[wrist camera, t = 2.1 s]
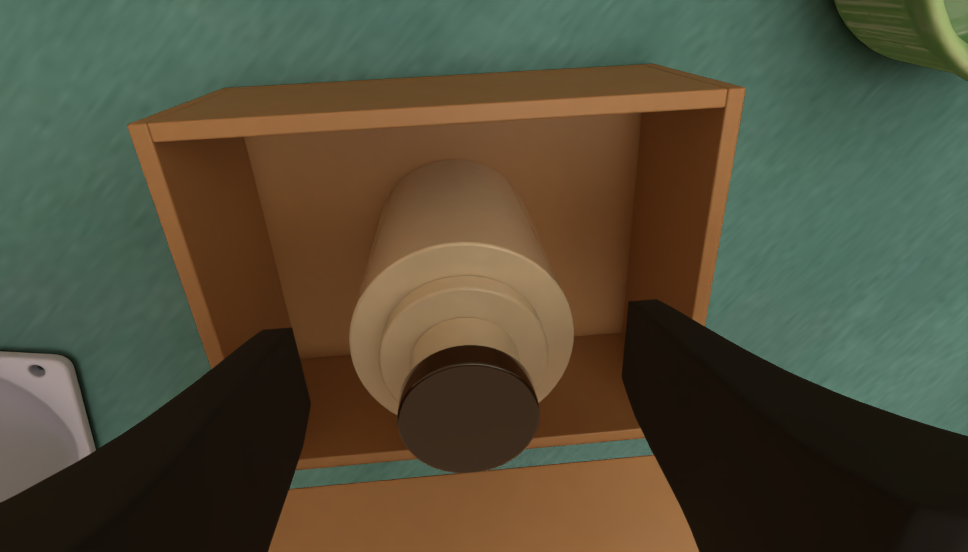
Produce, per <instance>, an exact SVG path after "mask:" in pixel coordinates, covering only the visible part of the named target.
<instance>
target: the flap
mask: <svg viewBox="0 0 968 552" xmlns="http://www.w3.org/2000/svg"><path fill="white" fill-rule="evenodd" d="M268 552H699V550H698V547H697V545H696V542H695V539H694V537H693V534H692V532H691V529H690V527H689V524H688V522H687V520H686V518H685V516H684V514H683V511H682V509H681V507H680V505H679V503H678V501H677V499H676V497H675V495H674V493H673V491H672V489H671V487H670V485H669V483H668V481H667V479H666V477H665V475H664V474H663V472H662V470H661V468H660V466H659V464H658V462H657V460H656V458H655V456H654V455H648V456H637V457H626V458H616V459H605V460H594V461H584V462H573V463H562V464H552V465H541V466H530V467H520V468H509V469H499V470H488V471H481V472H474V473H456V474H445V475H435V476H424V477H413V478H403V479H392V480H381V481H371V482H360V483H349V484H339V485H328V486H317V487H307V488H296V489H289V491H288V494H287V497H286V500H285V503H284V506H283V508H282V511H281V514H280V517H279V520H278V523H277V526H276V529H275V532H274V535H273V538H272V541H271V544H270V547H269V551H268Z"/></svg>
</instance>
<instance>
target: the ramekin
mask: <svg viewBox="0 0 968 552" xmlns="http://www.w3.org/2000/svg"><path fill="white" fill-rule="evenodd" d="M834 3H835V5H836V7H837V10H838V13H839V14H840V16H841V17H842V19H843V21H844V23H845V25H846V26H847V27H848V28H849V29H850V30H851V32H852V33H853V34H854V35H855V36H856V37H857V38H858V39H859V40H860V41H861V42H863V43H864V44H865V45H866V46H868V47H869V48H870V49H871V50H873V51H875V52H877V53H879V54H881V55H883V56H886V57H888V58H891V59H895V60H899V61H903V62H907V63H911V64H915V65H919V66H924V67H928V68H932V69H937V70H941V71H946V72H950V73H955V74H956V75H958V76H959V77H961V78H963V79H965V80H967V81H968V0H834Z"/></svg>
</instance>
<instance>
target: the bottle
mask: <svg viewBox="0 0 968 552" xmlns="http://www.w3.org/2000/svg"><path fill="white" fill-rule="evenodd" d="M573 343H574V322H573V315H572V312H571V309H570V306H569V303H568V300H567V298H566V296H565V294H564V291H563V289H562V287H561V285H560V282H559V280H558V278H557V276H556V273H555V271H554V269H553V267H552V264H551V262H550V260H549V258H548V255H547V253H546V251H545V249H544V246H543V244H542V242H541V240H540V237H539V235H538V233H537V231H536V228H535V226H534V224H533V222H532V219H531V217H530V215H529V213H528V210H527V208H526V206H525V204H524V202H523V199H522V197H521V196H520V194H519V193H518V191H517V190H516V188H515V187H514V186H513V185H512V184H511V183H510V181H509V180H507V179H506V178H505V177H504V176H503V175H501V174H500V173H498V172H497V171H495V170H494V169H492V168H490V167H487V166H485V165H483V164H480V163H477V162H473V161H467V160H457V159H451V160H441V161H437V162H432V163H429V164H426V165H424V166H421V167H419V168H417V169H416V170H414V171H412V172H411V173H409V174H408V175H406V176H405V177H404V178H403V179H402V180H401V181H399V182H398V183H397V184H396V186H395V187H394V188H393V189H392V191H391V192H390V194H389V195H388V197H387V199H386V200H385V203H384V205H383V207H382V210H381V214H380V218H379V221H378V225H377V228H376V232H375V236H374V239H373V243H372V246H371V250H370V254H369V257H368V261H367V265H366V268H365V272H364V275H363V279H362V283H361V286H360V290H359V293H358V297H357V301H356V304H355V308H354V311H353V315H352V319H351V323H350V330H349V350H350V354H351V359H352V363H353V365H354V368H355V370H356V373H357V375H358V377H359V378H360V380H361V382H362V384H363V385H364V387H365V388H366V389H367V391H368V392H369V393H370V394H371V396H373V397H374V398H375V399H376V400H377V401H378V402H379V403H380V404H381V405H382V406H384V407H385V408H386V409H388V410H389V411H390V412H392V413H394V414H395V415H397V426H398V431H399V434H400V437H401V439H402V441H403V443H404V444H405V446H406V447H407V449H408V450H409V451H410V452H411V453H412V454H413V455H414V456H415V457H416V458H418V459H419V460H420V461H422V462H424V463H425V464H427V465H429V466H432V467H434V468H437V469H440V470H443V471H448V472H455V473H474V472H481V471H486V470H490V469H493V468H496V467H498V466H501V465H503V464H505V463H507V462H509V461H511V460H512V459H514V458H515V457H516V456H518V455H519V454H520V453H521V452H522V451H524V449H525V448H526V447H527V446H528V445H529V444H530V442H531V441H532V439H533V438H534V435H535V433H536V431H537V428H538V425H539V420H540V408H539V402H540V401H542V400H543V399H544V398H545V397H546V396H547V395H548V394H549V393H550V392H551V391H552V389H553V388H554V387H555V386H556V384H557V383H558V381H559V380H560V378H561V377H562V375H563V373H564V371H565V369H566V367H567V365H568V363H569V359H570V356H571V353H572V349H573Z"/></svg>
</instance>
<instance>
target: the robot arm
mask: <svg viewBox="0 0 968 552" xmlns="http://www.w3.org/2000/svg"><path fill="white" fill-rule="evenodd" d="M37 365H38V366H41V367H42V368H43V369H44V370H43V369H41V368H39V367H38V366H37ZM622 380H623V383H624V387H625V390H626V393H627V396H628V399H629V402H630V404H631V407H632V410H633V413H634V415H635V418H636V420H637V422H638V424H639V426H640V428H641V430H642V432H643V434H644V436H645V438H646V440H647V442H648V444H649V446H650V448H651V450H652V452H653V454H654V456H655V458H656V460H657V462H658V464H659V466H660V468H661V470H662V472H663V474H664V475H665V477H666V479H667V481H668V483H669V485H670V487H671V489H672V491H673V493H674V495H675V497H676V499H677V501H678V503H679V505H680V507H681V509H682V511H683V514H684V516H685V518H686V520H687V522H688V524H689V527H690V529H691V532H692V534H693V537H694V539H695V542H696V545H697V547H698V550H699V552H968V436H965V435H961V434H958V433H954V432H951V431H947V430H944V429H940V428H937V427H933V426H930V425H927V424H924V423H921V422H917V421H914V420H911V419H908V418H905V417H902V416H899V415H896V414H893V413H890V412H887V411H885V410H882V409H879V408H876V407H873V406H870V405H868V404H865V403H862V402H859V401H857V400H854V399H851V398H849V397H846V396H844V395H841V394H838V393H836V392H834V391H831V390H829V389H827V388H824V387H822V386H820V385H817V384H815V383H813V382H810V381H808V380H806V379H803V378H801V377H799V376H797V375H794V374H792V373H790V372H788V371H786V370H784V369H782V368H780V367H778V366H776V365H774V364H772V363H770V362H768V361H766V360H764V359H762V358H760V357H758V356H756V355H754V354H752V353H751V352H749V351H747V350H745V349H743V348H741V347H739V346H738V345H736V344H734V343H732V342H731V341H729V340H727V339H725V338H724V337H722V336H720V335H718V334H717V333H715V332H713V331H711V330H710V329H708V328H706V327H705V326H703V325H701V324H700V323H698V322H696V321H695V320H693V319H691V318H690V317H688V316H686V315H684V314H683V313H681V312H679V311H678V310H676V309H674V308H672V307H671V306H669V305H667V304H665V303H663V302H661V301H659V300H657V299H651V300H638V301H628V312H627V323H626V334H625V344H624V355H623V366H622ZM310 407H311V401H310V397H309V393H308V389H307V385H306V381H305V377H304V373H303V369H302V365H301V361H300V357H299V353H298V349H297V345H296V341H295V337H294V333H293V329H292V327H291V328H278V329H265V330H262V331H260V332H259V333H257V334H256V335H254V336H253V337H252V338H250V339H249V340H248V341H246V342H245V343H244V344H243V345H241V346H240V347H239V348H237V349H236V350H235V351H234V352H232V353H231V354H230V355H229V356H227V357H226V358H225V359H224V360H222V361H221V362H220V363H219V364H217V365H216V366H215V367H214V368H212V369H211V370H210V371H209V372H207V373H206V374H205V375H204V376H202V377H201V378H200V379H198V380H197V381H196V382H195V383H193V384H192V385H191V386H190V387H188V388H187V389H185V390H184V391H183V392H181V393H180V394H179V395H177V396H176V397H174V398H173V399H172V400H170V401H169V402H168V403H166V404H165V405H163V406H162V407H161V408H159V409H158V410H157V411H155V412H154V413H153V414H151V415H150V416H148V417H147V418H146V419H144V420H143V421H141V422H140V423H138V424H137V425H135V426H134V427H132V428H131V429H129V430H128V431H126V432H125V433H123V434H122V435H120V436H118V437H117V438H115V439H114V440H112V441H110V442H109V443H107V444H106V445H104V446H102V447H101V448H99V449H97V450H96V448H95V444H94V441H93V437H92V433H91V429H90V425H89V422H88V418H87V414H86V410H85V406H84V402H83V399H82V395H81V391H80V387H79V383H78V380H77V376H76V372H75V368H74V365H73V364H72V362H71V361H70V360H69V359H68V358H66V357H64V356H62V355H57V354H41V353H24V352H6V351H0V552H268V551H269V547H270V544H271V541H272V538H273V535H274V532H275V529H276V526H277V523H278V520H279V517H280V514H281V511H282V508H283V506H284V503H285V500H286V497H287V494H288V491H289V488H290V485H291V482H292V479H293V476H294V473H295V470H296V467H297V464H298V461H299V458H300V455H301V451H302V448H303V445H304V440H305V435H306V430H307V425H308V419H309V413H310Z"/></svg>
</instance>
